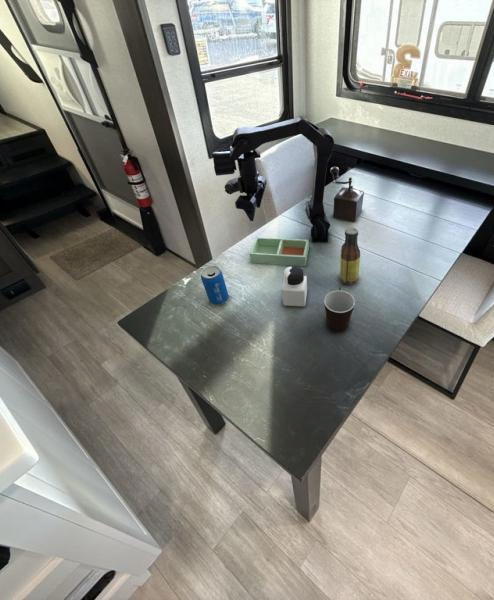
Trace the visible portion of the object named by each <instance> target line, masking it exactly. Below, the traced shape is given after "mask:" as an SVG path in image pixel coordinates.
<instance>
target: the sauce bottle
mask: <svg viewBox="0 0 494 600" xmlns="http://www.w3.org/2000/svg"><path fill="white" fill-rule="evenodd" d="M358 236H359V229H358V228H357V227H354V226H349V227H346V228H345V230H344V242H343V244H342V245H341V248H340V249H341V250H340V269H339V270H340V271H339V272H340V273H339V277H340V281H341V282H342V283H343V284H345V285H354V284H356V283H357V282H358V281H359V277H360V265H361V264H360V262H361V250H360V247H359V243H358Z"/></svg>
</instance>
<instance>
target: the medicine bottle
mask: <svg viewBox="0 0 494 600" xmlns="http://www.w3.org/2000/svg"><path fill="white" fill-rule="evenodd" d="M304 272H305V271H304V269H303V268H302V267H300V266H297V265H289V266H288V267H285V269H284V271H283V281H282V287H281V296H282V305H283V306H289V307H290V306H291V307H305V306H306V304H307V303H306V302H307V295H308V279H307V275H305V274H304Z"/></svg>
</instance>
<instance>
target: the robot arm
mask: <svg viewBox="0 0 494 600" xmlns="http://www.w3.org/2000/svg"><path fill="white" fill-rule="evenodd" d="M299 135H301V136H303V137H304V138H305V139H306V140H307V141H309V142H310V143H311V144H312V149H313V156H314V165H313V178H312V188H311V198H310V199H309V200H305V208H304V212H305V215H306V217H307V219H308V220H309V222H310V224H311V226H310V238H311V242H313V243H328V242H329V236H330V227H331V222H330V220H329V218H328V216H327V213H326V211H325V205H324V197H325V196H324V195H325V188H326V179H327V170H328V164H329V160H330V159H331V157H332V154H333V151H334V147H335V139H334V137H333V136H332V135H331V133H330V132H329V131H328V129H327V128H325V127H319V126H318V125H316V124H315V123H313V122H311V121H309V119H307V118H305V116H302V115H299V116H297V117H295V118H291V119H288V120H283V121H280V122H276V123H272V124H268V125H264V126H239V127H237V128H236V129H234V132H233V135H232V138H233V141H232V143H231V144H230V147H229V151H220V152H219V151H213V152H212V156H211V157H212V160H213V168H214V174H215V176H216V177H219V176H228V175H234V174H235V173H236V171H237V166H238V173H239V176H237V177H234V178H230V179H229V180H228V181H227V182H226V183H225V184H224V192H225V193H226V194H227V195H233V194H235V193H238V192H239V194H240V195H239V196H238V197H237V198H236V199H235V202H234V205H235V209H237V210H243V211H244V213H245V214H246V216H247V218H248V220H249V221H250V222H254V220H255V215H256V211H257V209H260V208H261V206H262V202H263V197H264V195H265V190H266V188H267V185H268V183H267V178H266V177H265V176H264V175H262V176H261V175H260V172H259V171H258V168H257V162H256V159H260V158H261V157H262V156H261V151H259V150H258V148H260V147H261V146H262V145H265V144H267V143H270V142H274V141H279V140H283V139H287V138H291V137H295V136H299ZM236 161H237V163H236ZM244 194H245V195H244Z"/></svg>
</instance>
